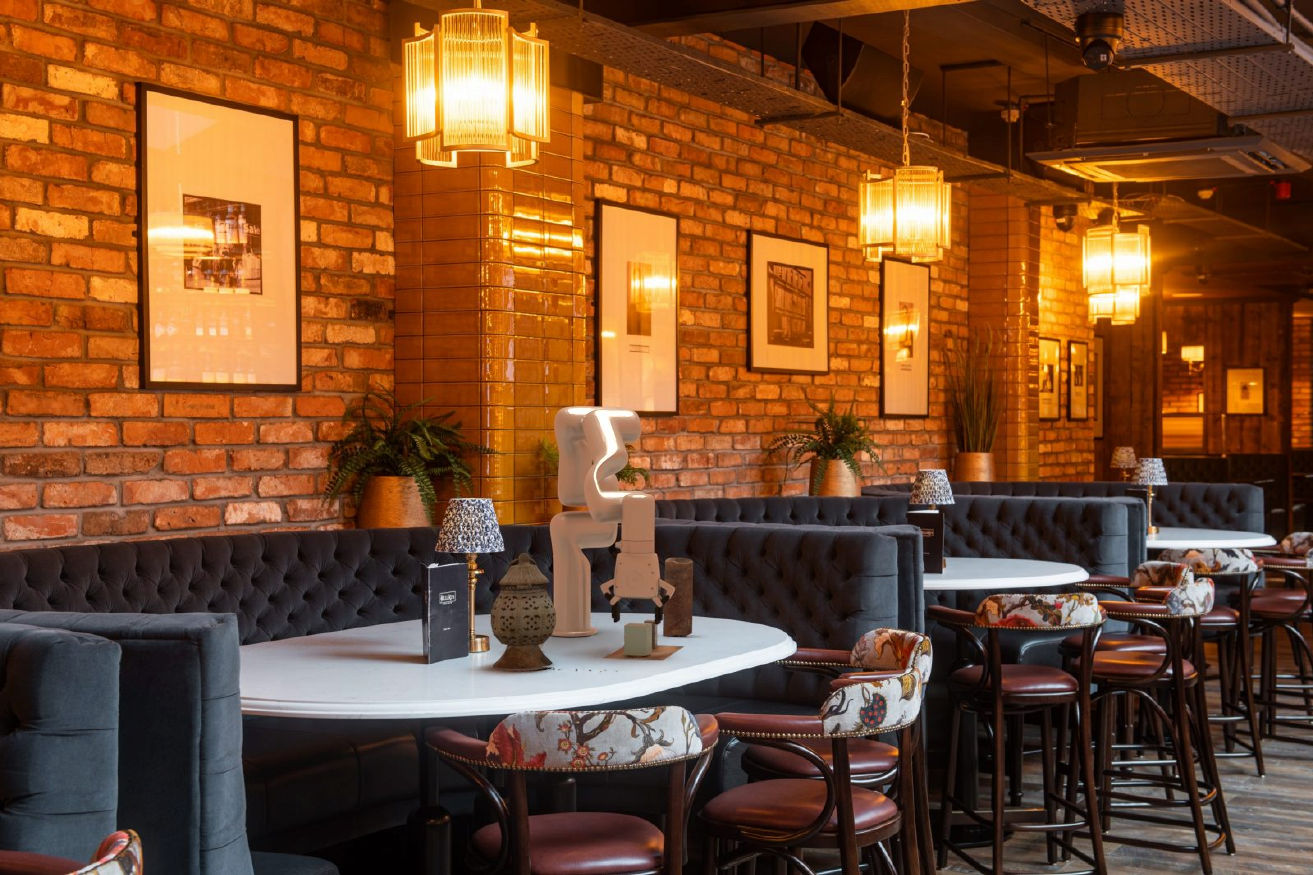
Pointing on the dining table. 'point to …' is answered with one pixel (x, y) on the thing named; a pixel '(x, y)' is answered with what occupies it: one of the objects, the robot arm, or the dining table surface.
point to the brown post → (653, 633)
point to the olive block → (638, 639)
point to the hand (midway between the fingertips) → (637, 622)
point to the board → (656, 654)
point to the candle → (678, 598)
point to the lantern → (523, 618)
